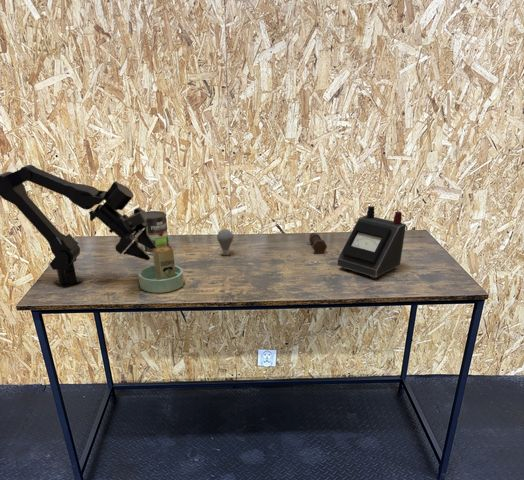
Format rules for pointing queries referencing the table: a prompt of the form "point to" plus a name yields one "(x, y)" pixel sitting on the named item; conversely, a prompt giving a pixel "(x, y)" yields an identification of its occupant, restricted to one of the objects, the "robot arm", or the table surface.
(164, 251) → the shoe polish box
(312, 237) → the bolt
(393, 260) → the voltmeter
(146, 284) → the basin
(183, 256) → the table surface
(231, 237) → the light bulb
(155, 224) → the coffee can
